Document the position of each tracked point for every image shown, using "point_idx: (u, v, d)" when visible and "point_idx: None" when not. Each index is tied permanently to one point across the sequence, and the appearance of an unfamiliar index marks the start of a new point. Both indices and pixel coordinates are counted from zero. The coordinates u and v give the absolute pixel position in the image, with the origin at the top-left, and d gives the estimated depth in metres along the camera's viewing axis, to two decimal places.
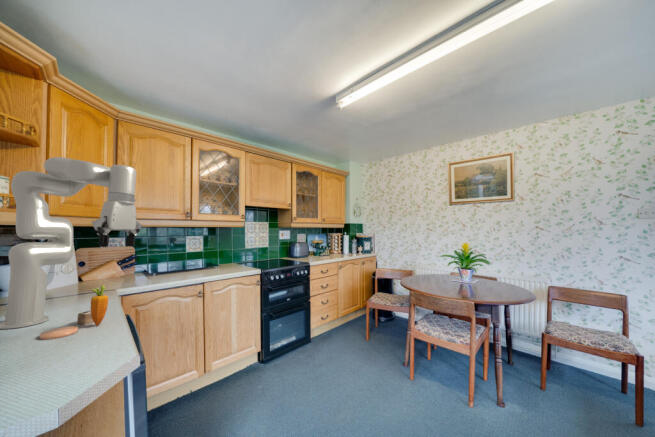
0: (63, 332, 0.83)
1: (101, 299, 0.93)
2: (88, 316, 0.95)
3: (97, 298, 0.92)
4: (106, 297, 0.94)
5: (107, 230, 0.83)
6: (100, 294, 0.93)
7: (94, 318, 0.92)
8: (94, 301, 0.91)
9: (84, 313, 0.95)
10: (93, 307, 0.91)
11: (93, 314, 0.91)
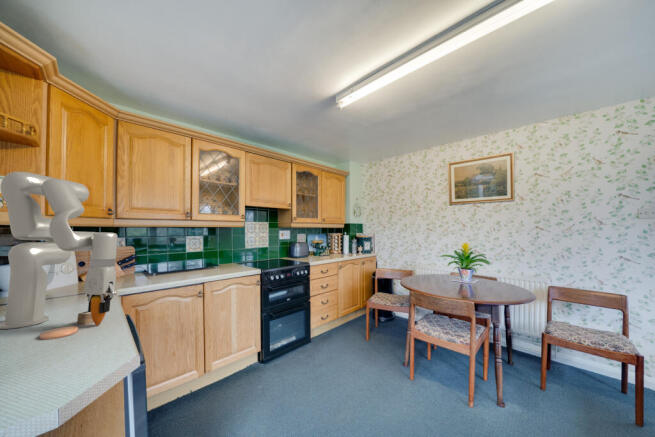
0: (63, 332, 0.83)
1: None
2: (88, 316, 0.95)
3: (97, 298, 0.92)
4: None
5: None
6: None
7: (94, 318, 0.92)
8: (94, 301, 0.91)
9: (84, 313, 0.95)
10: (93, 307, 0.91)
11: (93, 314, 0.91)
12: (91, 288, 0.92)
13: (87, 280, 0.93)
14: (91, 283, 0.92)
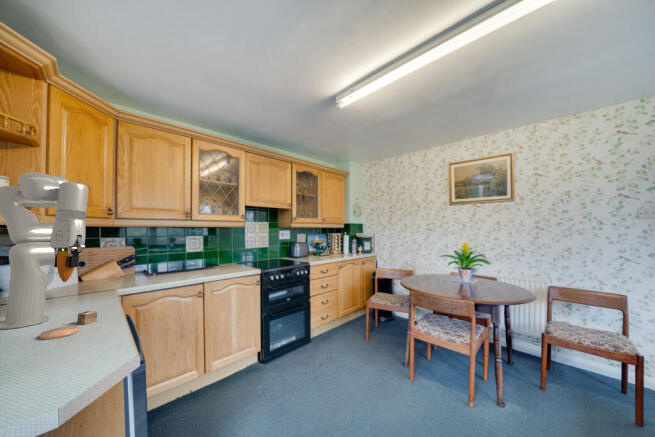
0: (63, 332, 0.83)
1: None
2: (88, 316, 0.95)
3: (63, 251, 0.85)
4: None
5: None
6: None
7: (60, 273, 0.85)
8: (60, 255, 0.85)
9: (84, 313, 0.95)
10: (59, 261, 0.84)
11: (59, 269, 0.84)
12: (57, 241, 0.85)
13: (53, 233, 0.86)
14: (57, 235, 0.85)
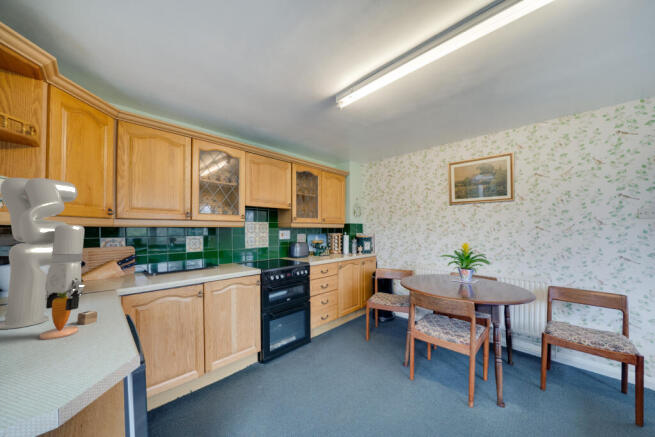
0: (63, 332, 0.83)
1: (63, 301, 0.84)
2: (88, 316, 0.95)
3: (58, 300, 0.84)
4: None
5: None
6: (63, 296, 0.85)
7: (55, 322, 0.83)
8: (55, 303, 0.83)
9: (84, 313, 0.95)
10: (54, 310, 0.83)
11: (54, 318, 0.83)
12: (52, 286, 0.83)
13: (49, 277, 0.84)
14: (53, 280, 0.84)
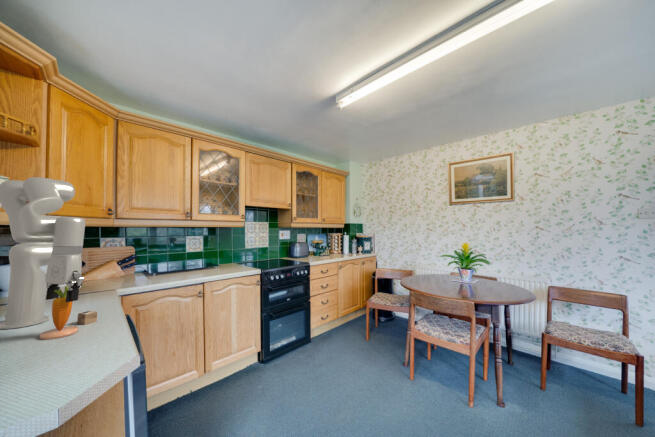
0: (63, 332, 0.83)
1: (64, 301, 0.84)
2: (88, 316, 0.95)
3: (59, 300, 0.84)
4: None
5: None
6: (63, 296, 0.85)
7: (55, 322, 0.83)
8: (55, 303, 0.83)
9: (84, 313, 0.95)
10: (54, 310, 0.83)
11: (54, 318, 0.83)
12: (52, 277, 0.84)
13: (49, 268, 0.85)
14: (53, 272, 0.84)
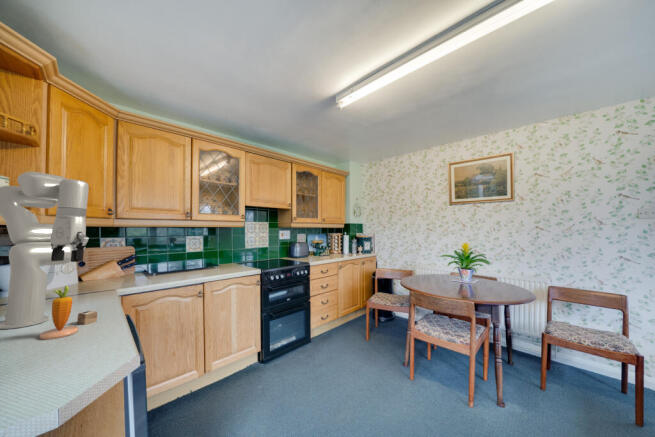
0: (63, 332, 0.83)
1: (63, 301, 0.84)
2: (88, 316, 0.95)
3: (58, 300, 0.84)
4: (70, 299, 0.86)
5: None
6: (63, 296, 0.85)
7: (55, 322, 0.83)
8: (55, 303, 0.83)
9: (84, 313, 0.95)
10: (54, 310, 0.83)
11: (54, 318, 0.83)
12: (57, 238, 0.85)
13: (54, 230, 0.86)
14: (58, 232, 0.85)
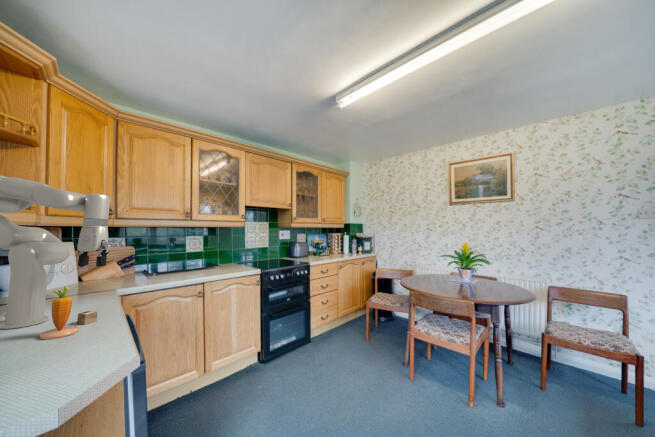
0: (63, 332, 0.83)
1: (63, 301, 0.84)
2: (88, 316, 0.95)
3: (58, 300, 0.84)
4: (69, 299, 0.86)
5: None
6: (62, 296, 0.85)
7: (55, 322, 0.83)
8: (55, 304, 0.83)
9: (84, 313, 0.95)
10: (54, 310, 0.83)
11: (54, 318, 0.83)
12: (84, 245, 0.96)
13: (81, 238, 0.97)
14: (84, 241, 0.97)
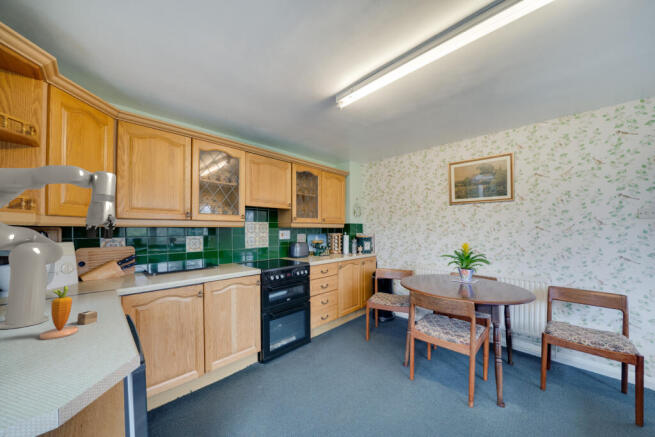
0: (63, 332, 0.83)
1: (63, 301, 0.84)
2: (88, 316, 0.95)
3: (58, 300, 0.84)
4: (69, 299, 0.86)
5: None
6: (62, 296, 0.85)
7: (55, 322, 0.83)
8: (55, 304, 0.83)
9: (84, 313, 0.95)
10: (54, 310, 0.83)
11: (54, 318, 0.83)
12: (92, 219, 1.03)
13: (89, 212, 1.04)
14: (92, 215, 1.04)
